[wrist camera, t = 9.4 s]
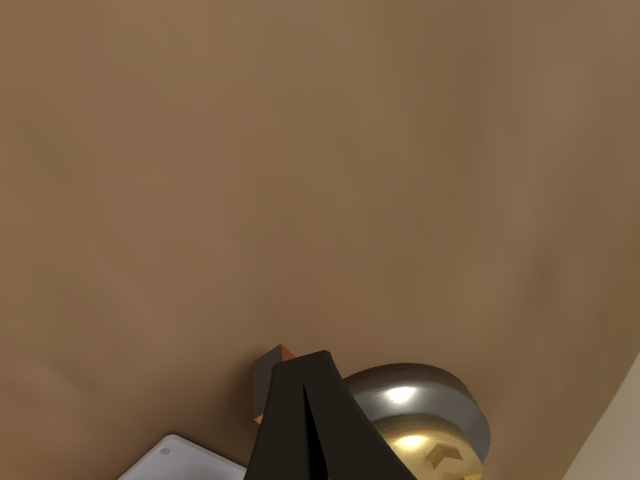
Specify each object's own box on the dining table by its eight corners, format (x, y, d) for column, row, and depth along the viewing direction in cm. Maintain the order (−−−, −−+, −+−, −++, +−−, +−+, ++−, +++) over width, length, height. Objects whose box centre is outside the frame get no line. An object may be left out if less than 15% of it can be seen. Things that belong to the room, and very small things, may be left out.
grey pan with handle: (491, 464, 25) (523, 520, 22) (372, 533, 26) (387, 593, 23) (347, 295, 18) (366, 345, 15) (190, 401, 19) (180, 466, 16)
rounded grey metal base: (373, 514, 29) (382, 544, 28) (250, 452, 24) (250, 484, 23) (506, 419, 27) (524, 446, 25) (399, 328, 22) (413, 354, 20)
